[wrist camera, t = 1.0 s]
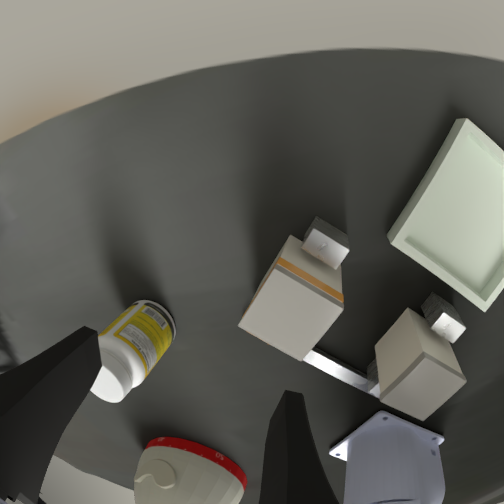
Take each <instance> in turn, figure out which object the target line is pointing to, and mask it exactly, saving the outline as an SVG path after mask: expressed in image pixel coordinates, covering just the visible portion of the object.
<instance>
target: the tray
mask: <svg viewBox="0 0 504 504" xmlns="http://www.w3.org/2000/svg"><path fill="white" fill-rule="evenodd" d="M386 236H387V238H388V240H389V241H390V243H391V244H392V245H393V246H395V247H396V248H398V249H399V250H401V251H402V252H403V253H405V254H406V255H408V256H409V257H411V258H412V259H414V260H415V261H416V262H418V263H419V264H421V265H422V266H423V267H425V268H426V269H428V270H429V271H430V272H432V273H433V274H435V275H436V276H437V277H439V278H440V279H441V280H443V281H444V282H446V283H447V284H448V285H450V286H451V287H452V288H454V289H455V290H456V291H458V292H459V293H460V294H462V295H463V296H464V297H466V298H467V299H468V300H469V301H471V302H472V303H473V304H475V305H476V306H477V307H478V308H480V309H481V310H482V311H484V312H486V310H487V309H488V308H489V307H490V305H491V304H492V303H493V301H494V300H495V299H496V297H497V296H498V295H499V293H500V292H501V291H502V289H503V288H504V151H503V150H502V149H501V148H500V147H499V146H498V145H497V144H496V143H495V142H493V141H492V140H491V139H490V138H489V137H488V136H487V135H486V134H485V133H484V132H482V131H481V130H480V129H479V128H478V127H477V126H476V125H474V124H473V123H472V122H471V121H470V120H469V119H467V118H462V119H456V121H455V122H454V124H453V126H452V128H451V130H450V132H449V134H448V135H447V137H446V139H445V141H444V143H443V144H442V146H441V148H440V150H439V151H438V153H437V155H436V157H435V158H434V160H433V162H432V164H431V165H430V167H429V169H428V170H427V172H426V174H425V175H424V177H423V179H422V180H421V182H420V184H419V185H418V187H417V188H416V190H415V192H414V193H413V195H412V197H411V198H410V200H409V201H408V203H407V204H406V206H405V208H404V209H403V211H402V212H401V214H400V215H399V217H398V218H397V220H396V221H395V223H394V224H393V226H392V227H391V229H390V230H389V232H388V233H387V235H386Z"/></svg>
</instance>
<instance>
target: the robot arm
mask: <svg viewBox="0 0 504 504" xmlns="http://www.w3.org/2000/svg"><path fill="white" fill-rule="evenodd" d="M101 367H102V361H101V355H100V348H99V341H98V334H97V331H95V330H93V329H90V328H88V327H86V326H83V327H82V328H80V329H78V330H77V331H75V332H74V333H72V334H71V335H69V336H67V337H66V338H64V339H63V340H61V341H60V342H58V343H57V344H55V345H53V346H52V347H50V348H49V349H47V350H45V351H44V352H42V353H41V354H39V355H37V356H36V357H34V358H32V359H30V360H28V361H27V362H25V363H23V364H21V365H19V366H17V367H15V368H13V369H11V370H9V371H7V372H5V373H3V374H0V504H7V503H6V502H5V500H6V499H7V498H9V499H10V500H12V501H13V502H15V500H16V499H18V500H19V501H21V502H22V503H24V504H37V501H38V497H39V493H40V489H41V486H42V483H43V480H44V477H45V474H46V471H47V468H48V465H49V463H50V460H51V458H52V455H53V453H54V451H55V448H56V446H57V444H58V442H59V440H60V438H61V435H62V433H63V432H64V430H65V428H66V426H67V425H68V423H69V422H70V420H71V419H72V417H73V415H74V414H75V412H76V411H77V409H78V408H79V406H80V405H81V403H82V402H83V400H84V399H85V397H86V395H87V394H88V392H89V391H90V389H91V388H92V386H93V384H94V382H95V380H96V378H97V376H98V374H99V372H100V370H101ZM384 417H385V418H384ZM443 441H444V437H443V436H441V435H439V434H436V433H434V432H432V431H429V430H427V429H424V428H422V427H420V426H417V425H415V424H413V423H410V422H408V421H406V420H404V419H401V418H399V417H397V416H395V415H392V414H390V413H388V412H386V411H379V412H377V413H376V414H375V415H374V416H372V417H371V418H370V419H369V420H368V421H366V422H365V423H364V424H363V425H361V426H360V427H359V428H358V429H356V430H355V431H354V432H353V433H351V434H350V435H349V436H347V437H346V438H345V439H344V440H342V441H341V442H340V443H338V444H337V445H335V446H334V447H333V448H331V449H330V451H329V454H330V455H332V456H335V457H337V458H340V459H343V460H346V461H347V466H346V480H345V493H344V504H442V501H443V498H444V494H445V482H444V476H443V469H442V463H441V458H440V452H439V447H438V445H439V444H441V443H442V442H443ZM259 504H339V502H338V500H337V498H336V497H335V495H334V493H333V490H332V488H331V486H330V484H329V482H328V479H327V477H326V475H325V472H324V469H323V467H322V464H321V461H320V459H319V456H318V453H317V450H316V446H315V443H314V440H313V436H312V433H311V429H310V425H309V421H308V417H307V412H306V407H305V402H304V396H303V395H302V393H297V392H292V391H288V390H285V392H284V394H283V396H282V398H281V400H280V402H279V404H278V406H277V408H276V410H275V412H274V414H273V416H272V417H271V419H270V424H269V429H268V433H267V438H266V443H265V453H264V463H263V473H262V483H261V493H260V500H259Z"/></svg>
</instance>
